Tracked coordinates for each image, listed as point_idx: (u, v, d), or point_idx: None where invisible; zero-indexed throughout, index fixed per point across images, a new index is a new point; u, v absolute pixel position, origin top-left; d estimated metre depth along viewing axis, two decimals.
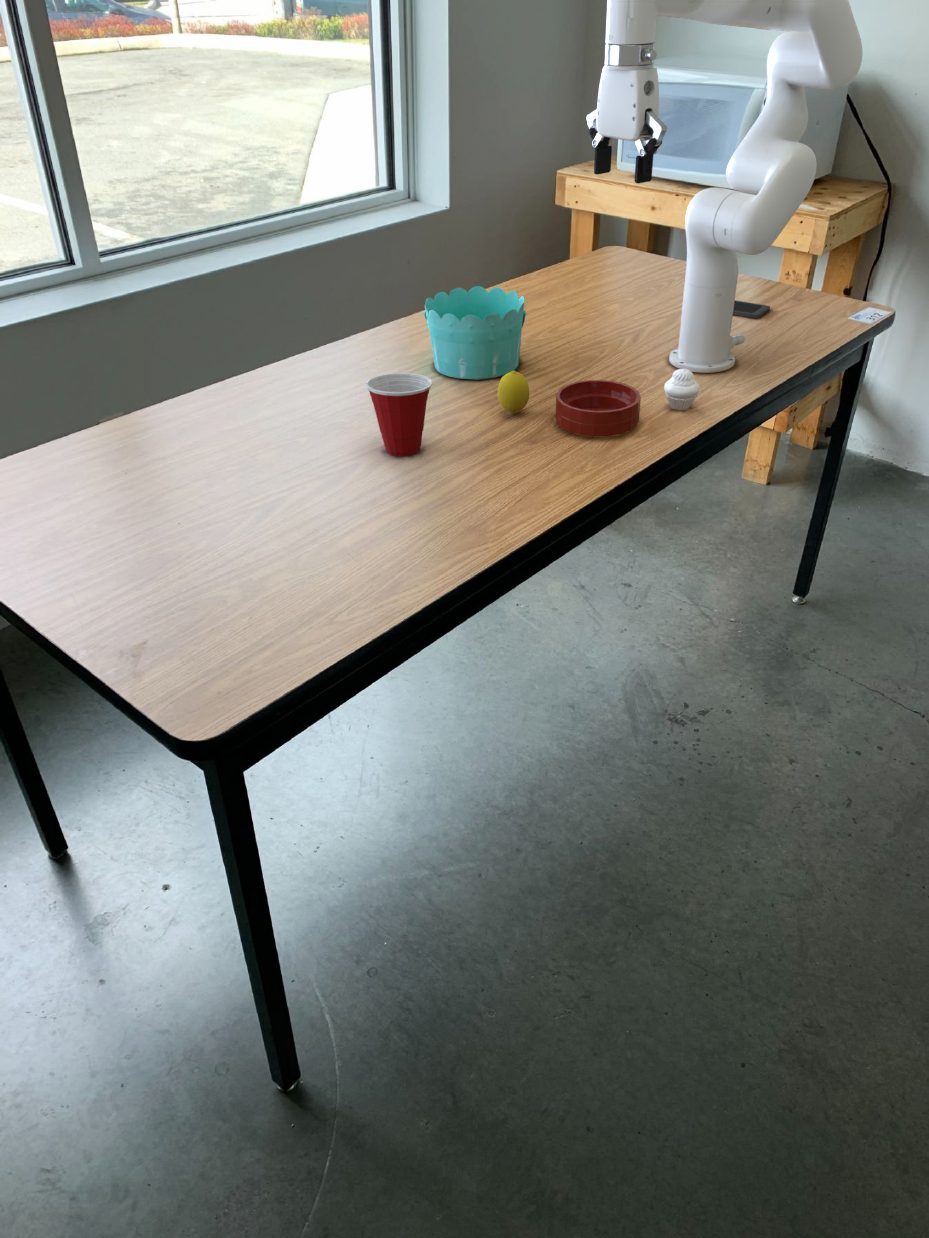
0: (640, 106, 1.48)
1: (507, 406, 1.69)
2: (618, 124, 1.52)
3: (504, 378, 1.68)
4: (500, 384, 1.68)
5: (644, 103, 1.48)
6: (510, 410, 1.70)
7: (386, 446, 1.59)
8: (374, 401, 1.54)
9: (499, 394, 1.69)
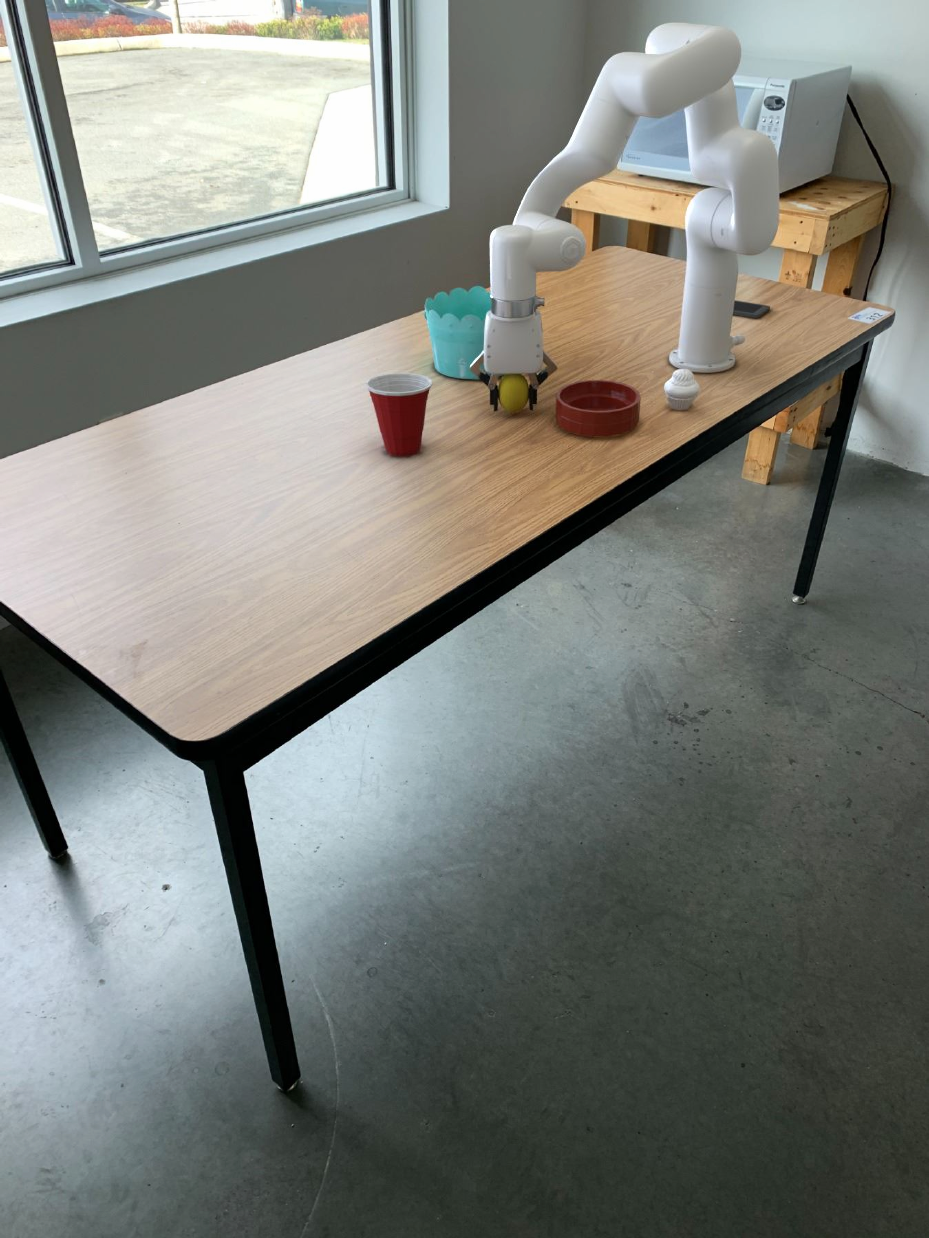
0: (541, 344, 1.63)
1: (507, 407, 1.69)
2: (518, 362, 1.64)
3: (504, 378, 1.68)
4: (500, 384, 1.68)
5: (542, 341, 1.64)
6: (510, 410, 1.70)
7: (386, 446, 1.59)
8: (374, 401, 1.54)
9: (499, 393, 1.69)
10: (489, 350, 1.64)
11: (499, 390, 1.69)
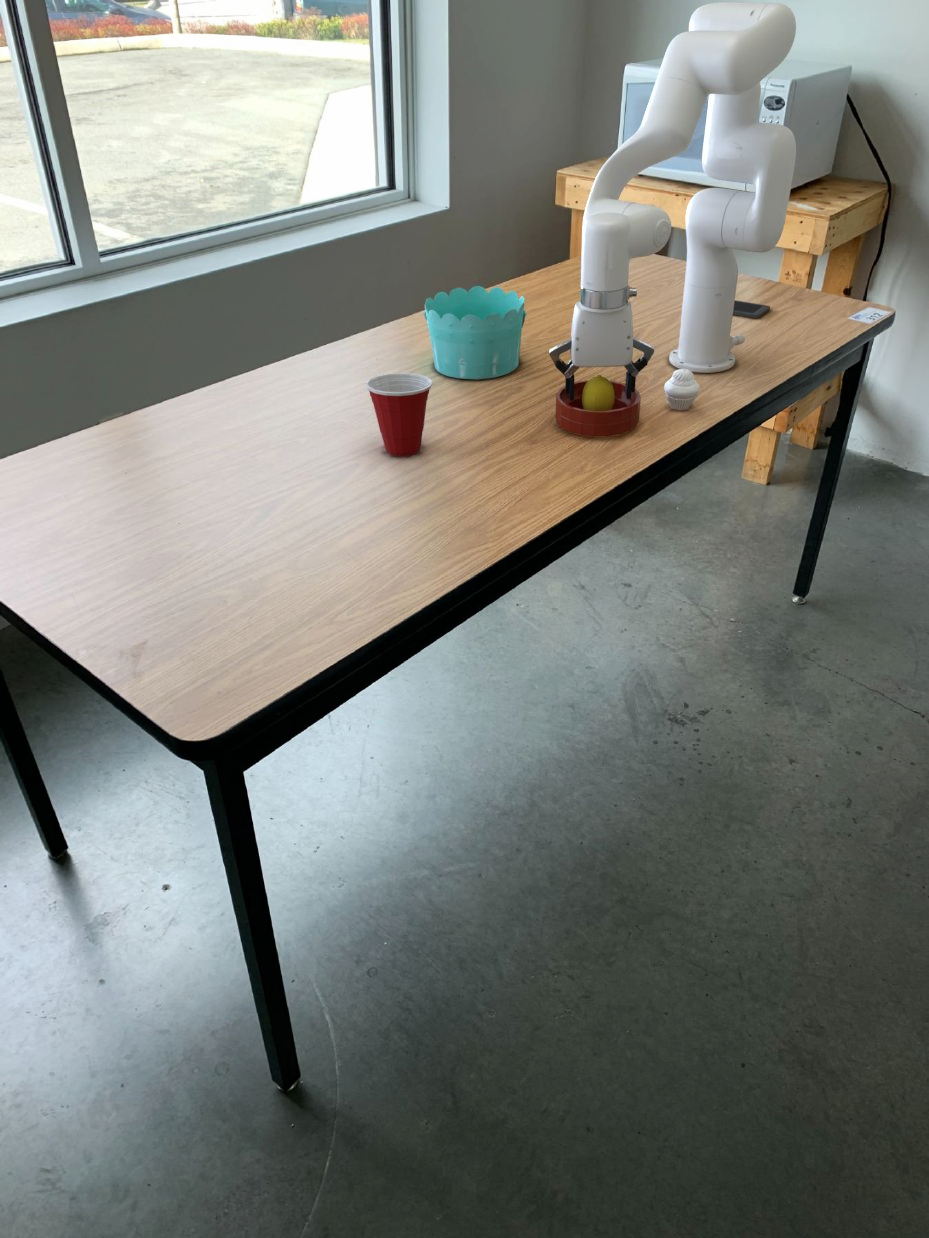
0: (632, 336, 1.58)
1: None
2: (607, 355, 1.59)
3: (590, 383, 1.63)
4: (585, 389, 1.64)
5: (632, 333, 1.58)
6: None
7: (386, 446, 1.59)
8: (374, 401, 1.54)
9: (583, 398, 1.65)
10: (578, 343, 1.58)
11: (584, 395, 1.64)
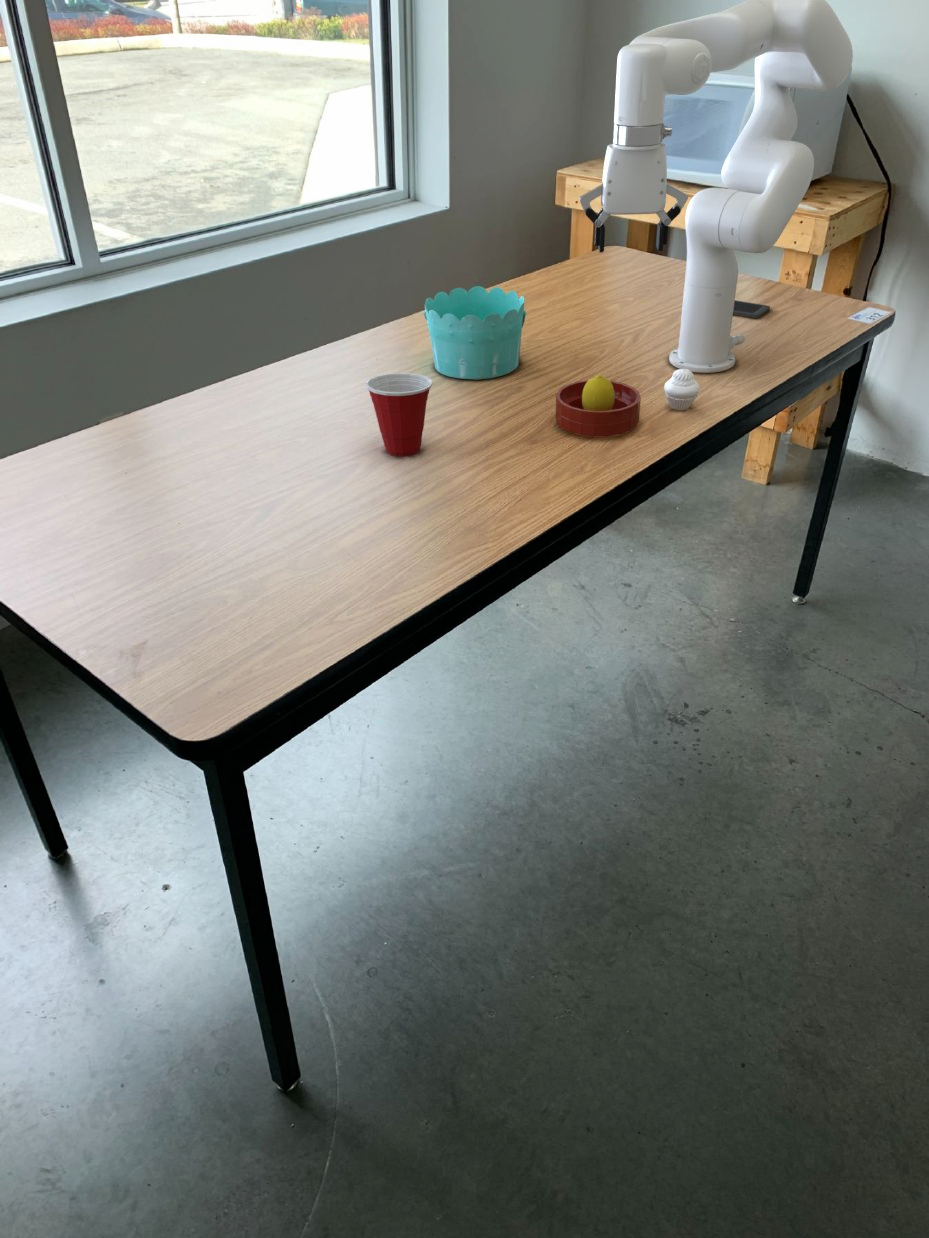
0: (666, 180, 1.53)
1: None
2: (640, 200, 1.54)
3: (590, 383, 1.63)
4: (585, 389, 1.64)
5: (666, 176, 1.53)
6: None
7: (386, 446, 1.59)
8: (374, 401, 1.54)
9: (583, 398, 1.65)
10: (610, 186, 1.53)
11: (584, 395, 1.64)
